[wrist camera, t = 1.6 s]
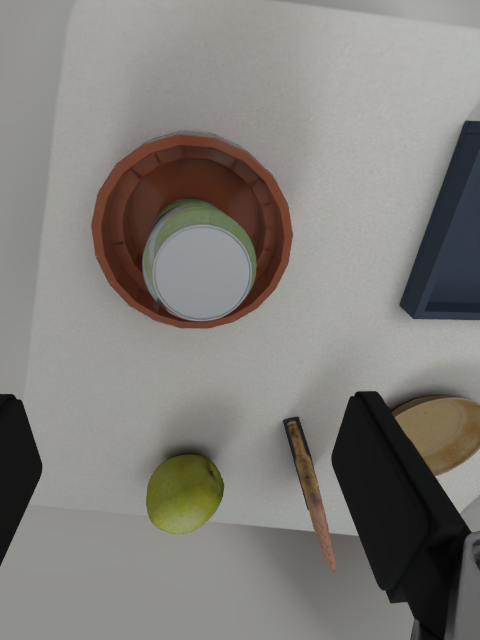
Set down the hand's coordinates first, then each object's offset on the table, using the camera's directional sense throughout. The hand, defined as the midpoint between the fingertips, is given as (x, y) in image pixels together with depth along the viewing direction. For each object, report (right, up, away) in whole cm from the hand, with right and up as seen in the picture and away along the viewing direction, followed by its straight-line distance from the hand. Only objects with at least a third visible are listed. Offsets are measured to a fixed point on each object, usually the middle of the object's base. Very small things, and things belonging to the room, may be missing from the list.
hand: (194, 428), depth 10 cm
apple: (-6, -14, +32) cm, 35 cm away
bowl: (-2, +11, +17) cm, 20 cm away
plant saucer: (+24, -10, +33) cm, 42 cm away
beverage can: (-2, +11, +17) cm, 20 cm away
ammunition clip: (+9, -13, +33) cm, 36 cm away
